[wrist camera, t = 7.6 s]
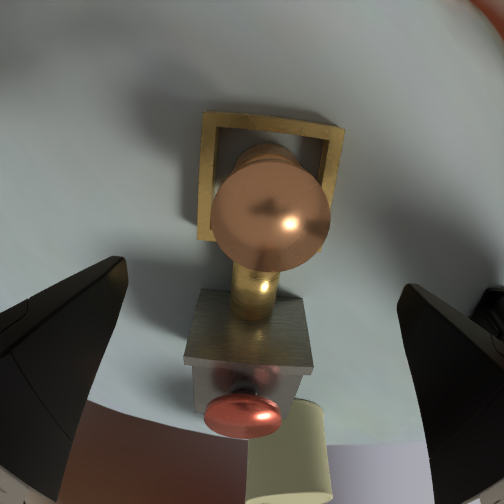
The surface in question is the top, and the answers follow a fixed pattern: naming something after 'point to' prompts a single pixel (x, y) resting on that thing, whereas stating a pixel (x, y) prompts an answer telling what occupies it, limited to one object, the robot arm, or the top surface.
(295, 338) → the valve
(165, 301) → the top surface
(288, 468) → the can
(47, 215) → the top surface
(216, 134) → the socket
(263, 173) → the stub
